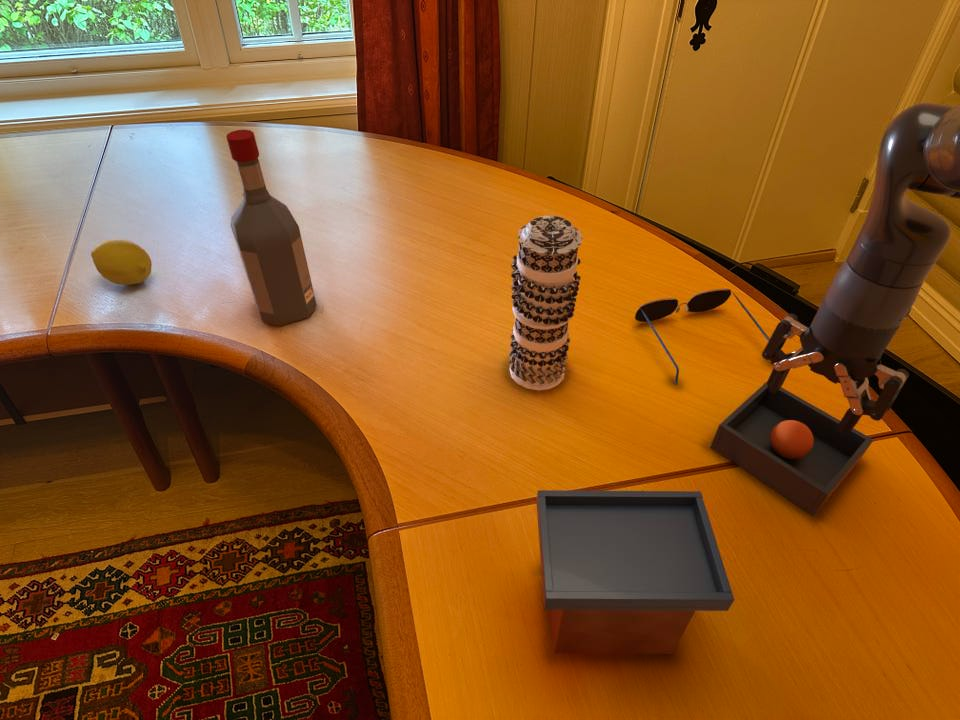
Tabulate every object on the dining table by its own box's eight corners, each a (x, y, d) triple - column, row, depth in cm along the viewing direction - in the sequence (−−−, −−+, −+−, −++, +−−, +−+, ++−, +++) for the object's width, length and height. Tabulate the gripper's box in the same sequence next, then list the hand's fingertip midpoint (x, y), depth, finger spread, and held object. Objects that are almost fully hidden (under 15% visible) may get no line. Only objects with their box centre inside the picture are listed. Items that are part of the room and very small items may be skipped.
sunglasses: (722, 307, 104) (732, 285, 100) (770, 372, 95) (783, 351, 91) (630, 324, 100) (637, 302, 96) (671, 393, 91) (680, 372, 87)
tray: (695, 503, 61) (700, 491, 59) (727, 611, 53) (734, 600, 51) (536, 502, 61) (537, 489, 59) (544, 609, 53) (545, 598, 51)
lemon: (169, 278, 109) (153, 240, 104) (131, 300, 104) (112, 261, 99) (130, 261, 113) (113, 223, 108) (92, 282, 109) (72, 243, 103)
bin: (858, 462, 79) (874, 439, 76) (813, 516, 73) (828, 494, 70) (758, 402, 87) (768, 379, 84) (709, 446, 81) (719, 424, 78)
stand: (654, 571, 68) (678, 511, 60) (672, 654, 62) (701, 599, 53) (547, 570, 68) (557, 511, 60) (554, 653, 62) (565, 598, 53)
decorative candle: (506, 349, 95) (512, 206, 78) (565, 351, 95) (584, 207, 78) (506, 391, 89) (512, 244, 72) (569, 392, 89) (591, 246, 72)
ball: (812, 452, 80) (827, 428, 76) (793, 473, 77) (807, 448, 74) (776, 431, 82) (789, 406, 79) (757, 450, 80) (770, 425, 77)
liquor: (266, 331, 99) (211, 154, 78) (253, 301, 104) (199, 129, 84) (320, 315, 102) (281, 140, 81) (305, 287, 108) (265, 117, 87)
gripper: (783, 287, 65) (738, 391, 76) (923, 354, 58) (851, 459, 69) (816, 261, 69) (769, 364, 80) (952, 321, 61) (879, 426, 72)
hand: (807, 408), depth 74 cm, fingers open, 8 cm apart
